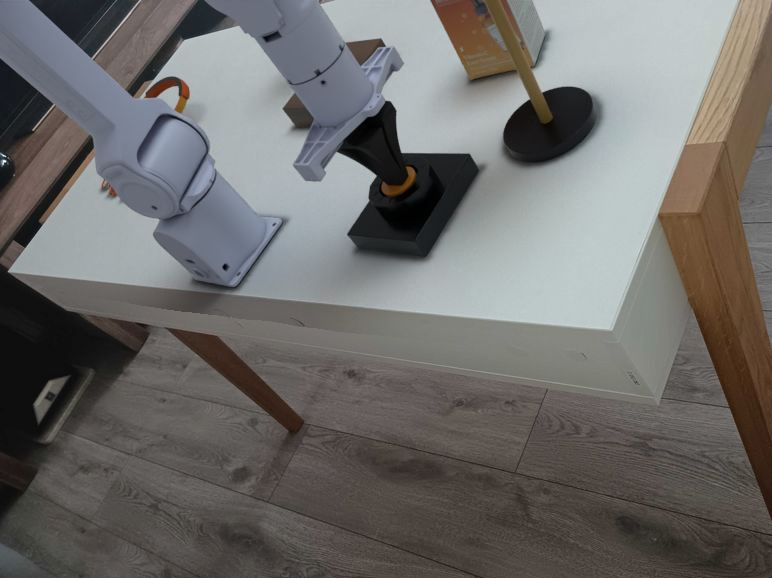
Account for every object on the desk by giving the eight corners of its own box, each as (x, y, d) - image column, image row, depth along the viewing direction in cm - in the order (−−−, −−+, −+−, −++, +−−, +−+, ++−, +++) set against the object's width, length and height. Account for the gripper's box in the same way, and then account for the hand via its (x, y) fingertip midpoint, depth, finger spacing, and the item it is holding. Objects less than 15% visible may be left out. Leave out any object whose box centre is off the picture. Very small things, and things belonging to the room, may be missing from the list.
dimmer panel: (344, 126, 90) (329, 105, 87) (296, 127, 95) (281, 107, 93) (393, 58, 94) (380, 36, 92) (344, 63, 99) (331, 42, 97)
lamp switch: (411, 208, 70) (402, 195, 69) (384, 206, 72) (374, 193, 71) (429, 179, 71) (421, 166, 70) (402, 178, 74) (393, 165, 72)
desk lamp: (575, 168, 67) (456, -96, 50) (486, 166, 73) (352, -70, 56) (618, 90, 70) (520, -181, 53) (529, 94, 76) (416, -148, 59)
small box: (470, 82, 83) (425, -3, 75) (483, 49, 85) (441, -36, 78) (536, 66, 79) (495, -25, 71) (547, 33, 81) (509, -59, 74)
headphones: (158, 212, 104) (221, 89, 107) (124, 192, 100) (190, 65, 103) (104, 201, 115) (163, 89, 118) (72, 183, 111) (133, 68, 114)
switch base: (426, 257, 69) (405, 228, 66) (358, 249, 74) (335, 221, 71) (479, 169, 73) (461, 138, 70) (411, 168, 78) (392, 139, 75)
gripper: (299, 122, 56) (391, 242, 66) (393, -3, 61) (466, 124, 71) (242, 124, 60) (336, 236, 70) (335, 6, 65) (411, 126, 75)
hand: (398, 180), depth 71 cm, fingers closed, pressing on lamp switch
